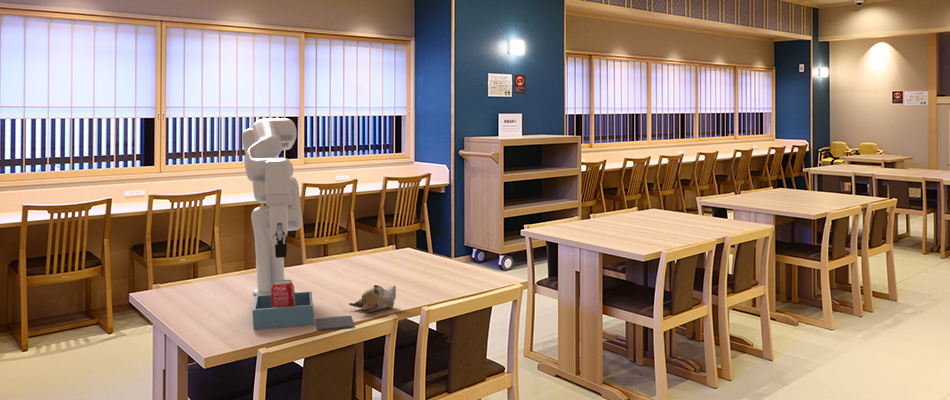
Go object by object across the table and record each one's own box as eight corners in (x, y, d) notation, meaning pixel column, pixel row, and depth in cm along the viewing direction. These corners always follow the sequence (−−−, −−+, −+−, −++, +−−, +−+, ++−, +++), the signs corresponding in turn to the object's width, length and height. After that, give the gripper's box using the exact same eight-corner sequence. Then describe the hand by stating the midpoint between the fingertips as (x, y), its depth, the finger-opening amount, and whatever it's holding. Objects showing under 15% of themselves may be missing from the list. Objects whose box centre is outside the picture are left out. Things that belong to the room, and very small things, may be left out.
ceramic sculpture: (401, 284, 223) (358, 293, 216) (403, 309, 225) (360, 319, 217) (388, 278, 233) (346, 286, 225) (390, 302, 234) (349, 312, 226)
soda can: (288, 314, 221) (286, 278, 220) (300, 318, 216) (298, 281, 215) (268, 319, 216) (266, 281, 215) (279, 323, 211) (277, 285, 210)
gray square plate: (315, 320, 214) (315, 318, 214) (351, 317, 217) (351, 315, 217) (316, 330, 204) (316, 328, 204) (354, 327, 206) (354, 325, 206)
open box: (256, 313, 223) (255, 295, 222) (312, 309, 227) (311, 291, 226) (253, 329, 206) (252, 310, 205) (313, 324, 210) (312, 305, 209)
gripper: (267, 197, 219) (269, 250, 221) (264, 203, 202) (267, 260, 204) (291, 196, 221) (293, 249, 223) (291, 202, 204) (293, 258, 206)
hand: (281, 254), depth 213 cm, fingers open, 9 cm apart
